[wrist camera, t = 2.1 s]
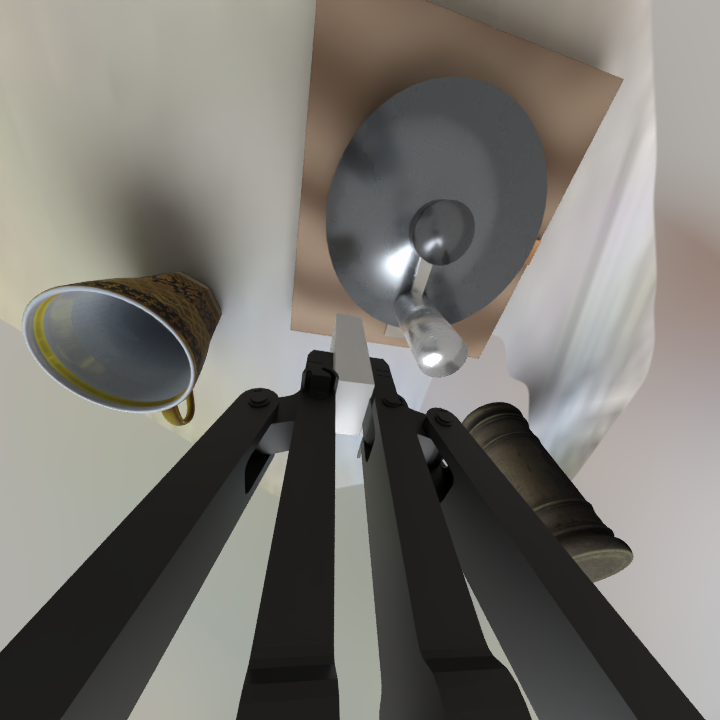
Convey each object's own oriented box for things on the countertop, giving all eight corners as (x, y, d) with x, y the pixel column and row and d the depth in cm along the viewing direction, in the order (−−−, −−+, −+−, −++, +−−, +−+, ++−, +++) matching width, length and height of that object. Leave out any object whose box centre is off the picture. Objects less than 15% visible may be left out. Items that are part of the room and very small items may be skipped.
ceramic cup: (103, 263, 24) (-26, 302, 15) (211, 242, 23) (141, 270, 15) (179, 378, 31) (120, 448, 22) (263, 363, 30) (235, 428, 22)
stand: (322, -6, 17) (319, -46, 14) (587, 93, 20) (628, 77, 17) (294, 317, 28) (289, 331, 25) (467, 345, 31) (480, 360, 28)
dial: (347, 50, 16) (360, -117, 7) (573, 128, 18) (774, 73, 10) (314, 305, 24) (303, 367, 15) (475, 332, 27) (539, 397, 18)
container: (458, 449, 42) (529, 597, 26) (457, 409, 37) (543, 561, 22) (516, 438, 41) (621, 581, 26) (523, 395, 36) (657, 540, 21)
